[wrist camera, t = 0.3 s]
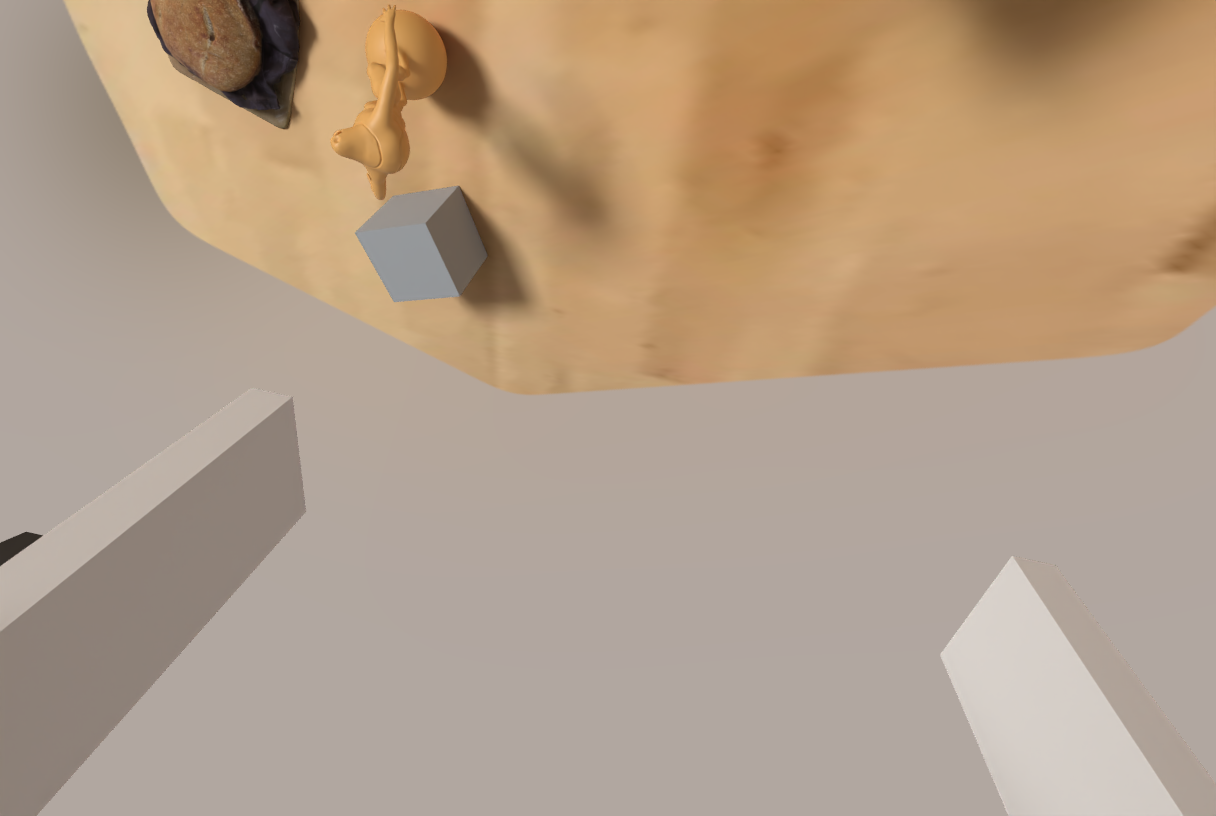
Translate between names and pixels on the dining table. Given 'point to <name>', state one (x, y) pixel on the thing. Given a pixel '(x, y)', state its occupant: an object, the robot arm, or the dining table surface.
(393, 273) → the slate grey cube
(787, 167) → the dining table surface
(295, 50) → the bread roll
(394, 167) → the figurine
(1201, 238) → the dining table surface
